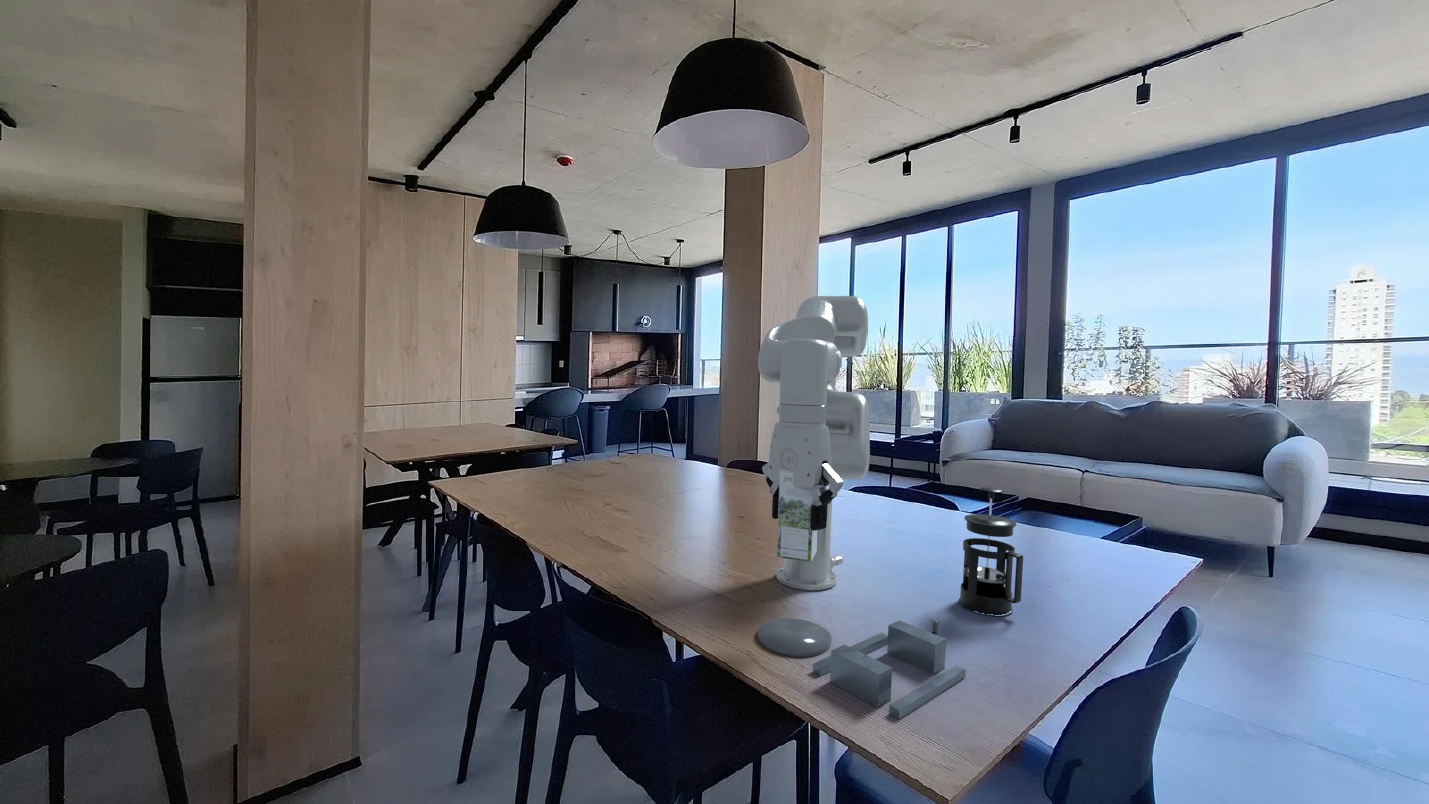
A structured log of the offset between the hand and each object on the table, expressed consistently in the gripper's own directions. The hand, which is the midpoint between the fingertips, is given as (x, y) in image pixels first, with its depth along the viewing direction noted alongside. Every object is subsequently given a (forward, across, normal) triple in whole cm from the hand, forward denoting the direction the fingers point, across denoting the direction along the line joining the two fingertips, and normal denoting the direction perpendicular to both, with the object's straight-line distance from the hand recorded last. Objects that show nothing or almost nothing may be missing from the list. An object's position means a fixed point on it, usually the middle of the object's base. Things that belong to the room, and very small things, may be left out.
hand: (798, 522), depth 94 cm
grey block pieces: (+20, +16, +5) cm, 26 cm away
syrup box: (+6, 0, 0) cm, 6 cm away
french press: (+20, +13, +40) cm, 46 cm away
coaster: (+20, 0, 0) cm, 20 cm away
